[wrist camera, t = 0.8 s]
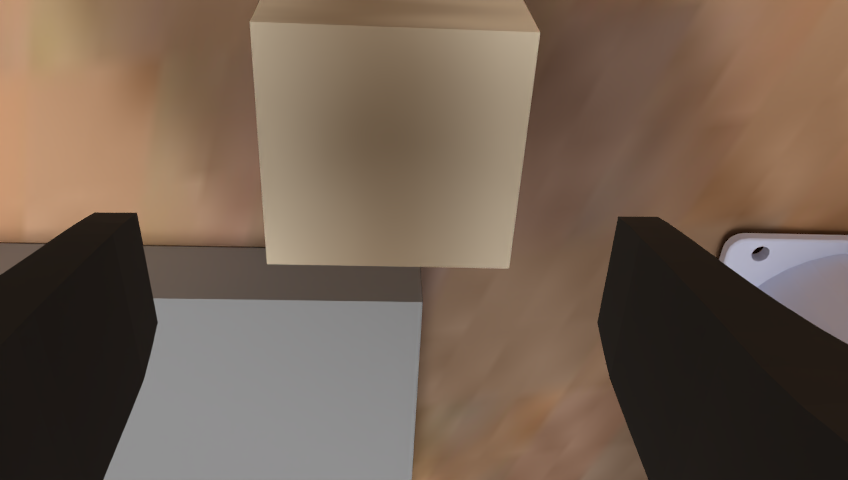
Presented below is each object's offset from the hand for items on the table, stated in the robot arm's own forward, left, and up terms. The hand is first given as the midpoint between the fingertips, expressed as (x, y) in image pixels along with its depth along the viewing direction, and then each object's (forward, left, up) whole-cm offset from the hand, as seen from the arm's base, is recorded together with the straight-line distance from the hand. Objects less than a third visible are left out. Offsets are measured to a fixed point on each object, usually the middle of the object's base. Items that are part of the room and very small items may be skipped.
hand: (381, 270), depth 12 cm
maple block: (0, 0, -10) cm, 10 cm away
